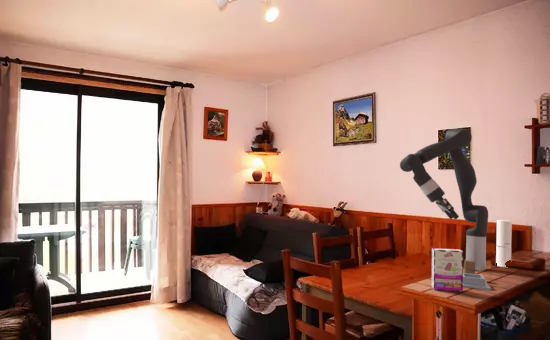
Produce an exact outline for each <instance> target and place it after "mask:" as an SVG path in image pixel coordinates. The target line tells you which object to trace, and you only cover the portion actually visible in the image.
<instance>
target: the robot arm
mask: <svg viewBox="0 0 550 340" xmlns="http://www.w3.org/2000/svg"><path fill="white" fill-rule="evenodd" d="M472 137H473V136H472V133H471V131H470V130H468V129H466V128H452V129H448V130H447V131H446V132H445V136H444V138H445V139H444V140H442V141H438V142H434V143H432V144H429V145H426V146H424V147H423V148H421V149H419V150H417V151H416V152H415V153H409V154H407V155H406V156H405V157H404V158H402V159H401V161H400V163H399V168H400V170H402V171H403V172H406V173H411V172H412V173H413V177H412V179H413V181H414V182H415V183H416V184H417V186H418V187H419V189H420V190H421V191H422V194H423V195H425V197H426V198H427V199H428V201H429V202H431V203H434V202H435V204H436V206H438V208H439V209H440V210H441V212H442V213H444V214H445V215H446V216H447V217H448V218H449V219H450V220H453V219H454V220H457V219H458V218H460V216H459V215H458V213H457V212H456V211H455V208H454V206H453V205H452V204H451V203H450V202H449V201H448V199H447V198H445V197H444V196H445V194H446V191H444V190H443V189H442V188H441V186H440V185H439V184H438V183H437V182H436V180H435V179H433V178H432V176H431V175H430V174H429V173H428V172H427V169H426V168H425V166H424V164H426V163H428V162H430V161H433V160H434V159H436V158H438V157H440V156H443V155H445V154H447V153H449V155H450V159H451V162H452V166H453V170H454V175H455V179H456V183H457V186H458V191H459V196H460V200H461V201H460V202H461V210H462V214H463V215H462V216H463V218H464V220H465V221H466V222H469V223H475V226H474V227H472V228H468V229H467V230H466V237H465V238H466V239H465V240H466V243H465V245H466V247H465V260H471V261H475V271H486V268H487V267H486V265H487V264H486V262H487V261H486V260H487V258H486V257H487V255H486V254H487V249H486V248H487V232H488V224H489V222H488V221H489V210H488V208H487V206H486V205H481V204H480V205H479V204H473V202H472V195H473V192H474V190H475V187H476V185H477V181H478V179H477V175H476V171H475V169H474V167H473V165H472V164H471V162H470V161H469V159H468V158H467V157H466V155H465V154H464V151H463V148H464V147H467V146H469V145H470V143H471V141H472Z"/></svg>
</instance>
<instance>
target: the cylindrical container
mask: <svg viewBox="0 0 550 340" xmlns="http://www.w3.org/2000/svg"><path fill="white" fill-rule="evenodd" d="M512 226H513V221H512V220H505V219H497V220H496V240H495V241H496V244H495V245H496V246H495V247H496V251H495V253H496V255H495V264H496V263H497V267H500V268H507V267H506V265H505V263H506V262H507V261H509V260H511V261H512V235H513V234H512V232H513V230H512V229H513V227H512Z"/></svg>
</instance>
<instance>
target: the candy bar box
mask: <svg viewBox="0 0 550 340" xmlns="http://www.w3.org/2000/svg"><path fill="white" fill-rule="evenodd" d="M463 273H464V251H463V250H462V249H456V248H455V249H454V248H440V247H439V248H435V247H432V248H431V288H432V289H433V290H434V291H439V292H442V291H443V292H444V291H445V292H456V293H457V292H458V293H463V291H464V287H463Z"/></svg>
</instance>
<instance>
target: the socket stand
mask: <svg viewBox="0 0 550 340" xmlns="http://www.w3.org/2000/svg"><path fill="white" fill-rule="evenodd" d="M463 288H466V289H468V288H469V289H475V290H486V291H491V286H490V285H489V283H488V282H487V281H486V278H485V277H484V275H483V274H478V273H477V274H476V273H475V274H469V273H464V272H463Z"/></svg>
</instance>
